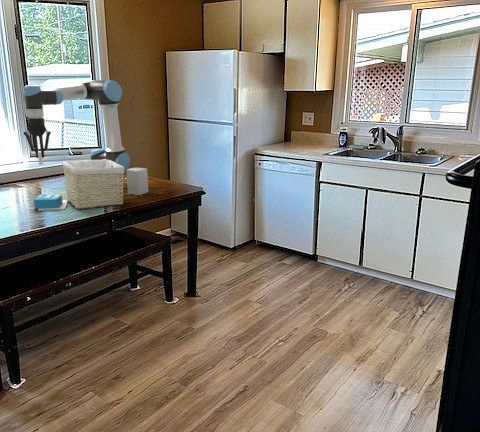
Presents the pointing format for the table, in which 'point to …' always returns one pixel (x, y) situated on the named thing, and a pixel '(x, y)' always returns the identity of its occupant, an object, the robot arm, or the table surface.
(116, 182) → the basket
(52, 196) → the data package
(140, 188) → the supplement box
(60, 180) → the table surface
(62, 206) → the white flat rectangular panel
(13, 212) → the table surface
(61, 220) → the table surface
